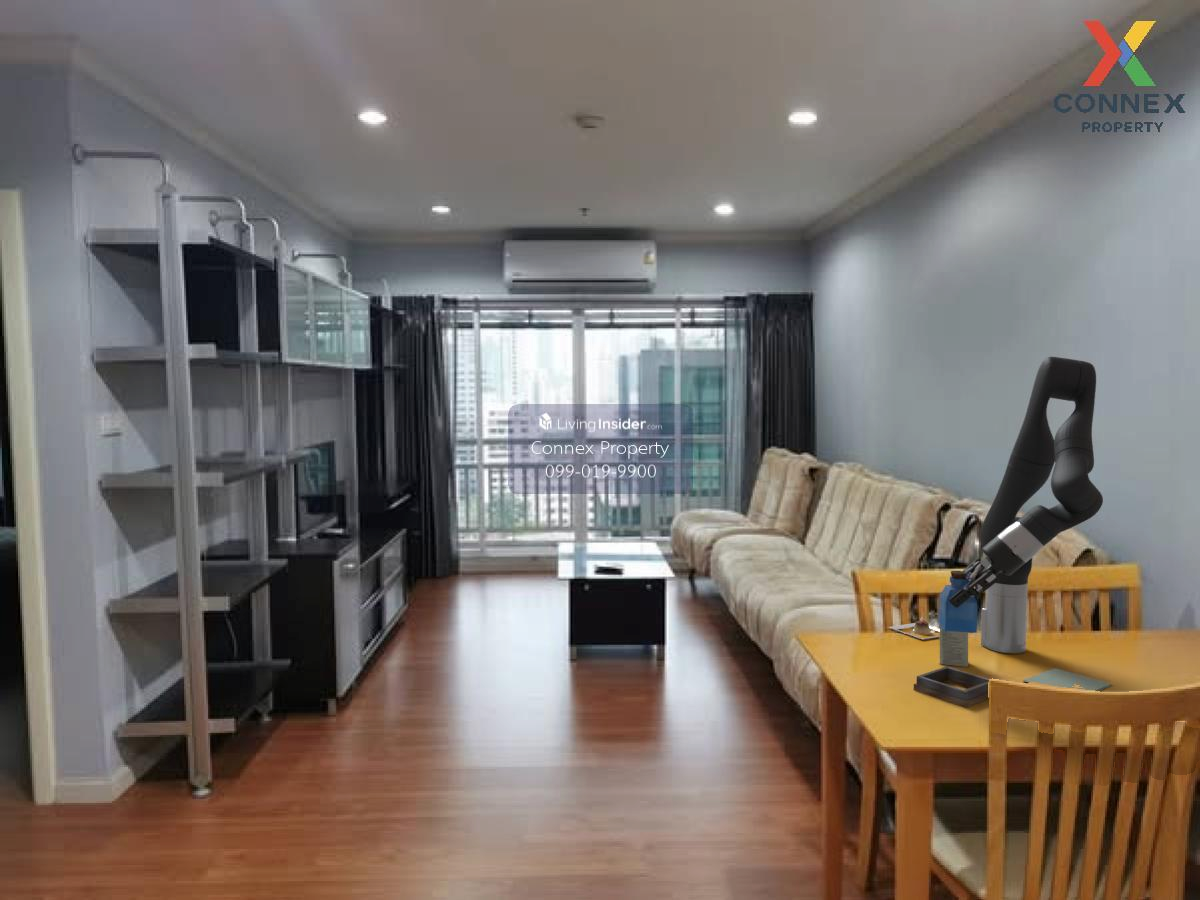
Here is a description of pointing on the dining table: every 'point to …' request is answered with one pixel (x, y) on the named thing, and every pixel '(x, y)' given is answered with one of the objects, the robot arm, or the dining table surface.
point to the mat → (1068, 680)
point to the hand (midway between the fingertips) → (949, 599)
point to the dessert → (918, 628)
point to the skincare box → (953, 648)
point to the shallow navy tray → (935, 687)
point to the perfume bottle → (965, 613)
